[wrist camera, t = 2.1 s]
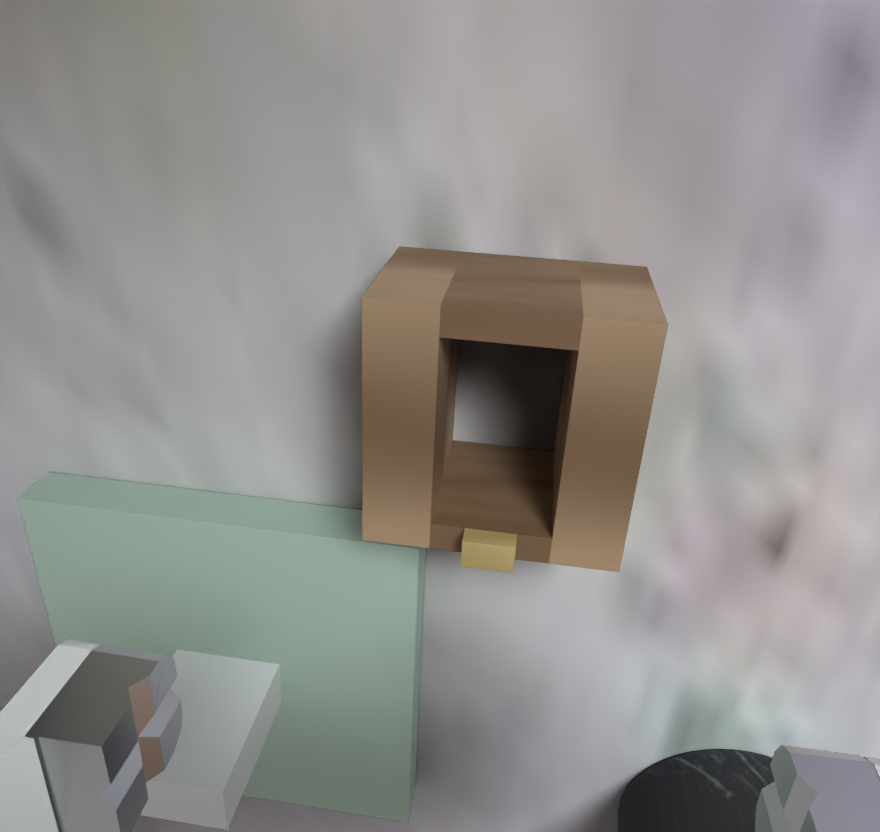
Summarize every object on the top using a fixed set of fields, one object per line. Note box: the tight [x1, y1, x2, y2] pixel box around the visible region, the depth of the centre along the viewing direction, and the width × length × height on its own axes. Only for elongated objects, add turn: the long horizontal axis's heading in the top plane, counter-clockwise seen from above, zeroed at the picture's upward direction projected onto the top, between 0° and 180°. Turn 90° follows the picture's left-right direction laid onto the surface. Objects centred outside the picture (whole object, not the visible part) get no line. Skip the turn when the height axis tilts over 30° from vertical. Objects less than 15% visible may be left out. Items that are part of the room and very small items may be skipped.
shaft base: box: [17, 472, 426, 830], centre depth 23 cm, size 12×12×6 cm
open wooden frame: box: [362, 247, 668, 573], centre depth 18 cm, size 6×6×4 cm
